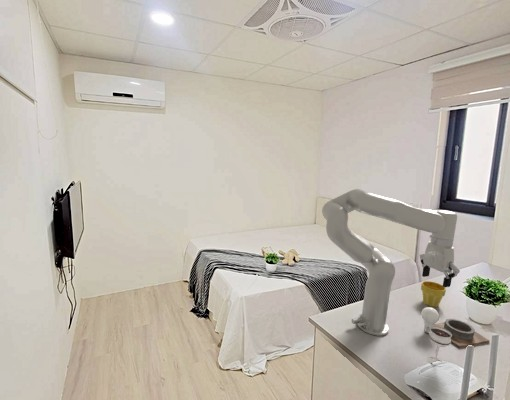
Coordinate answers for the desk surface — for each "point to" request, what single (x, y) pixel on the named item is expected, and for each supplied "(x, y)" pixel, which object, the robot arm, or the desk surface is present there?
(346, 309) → the desk surface
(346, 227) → the robot arm
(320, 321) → the desk surface
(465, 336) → the bulb holder
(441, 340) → the wineglass
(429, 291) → the plant pot
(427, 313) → the lightbulb
